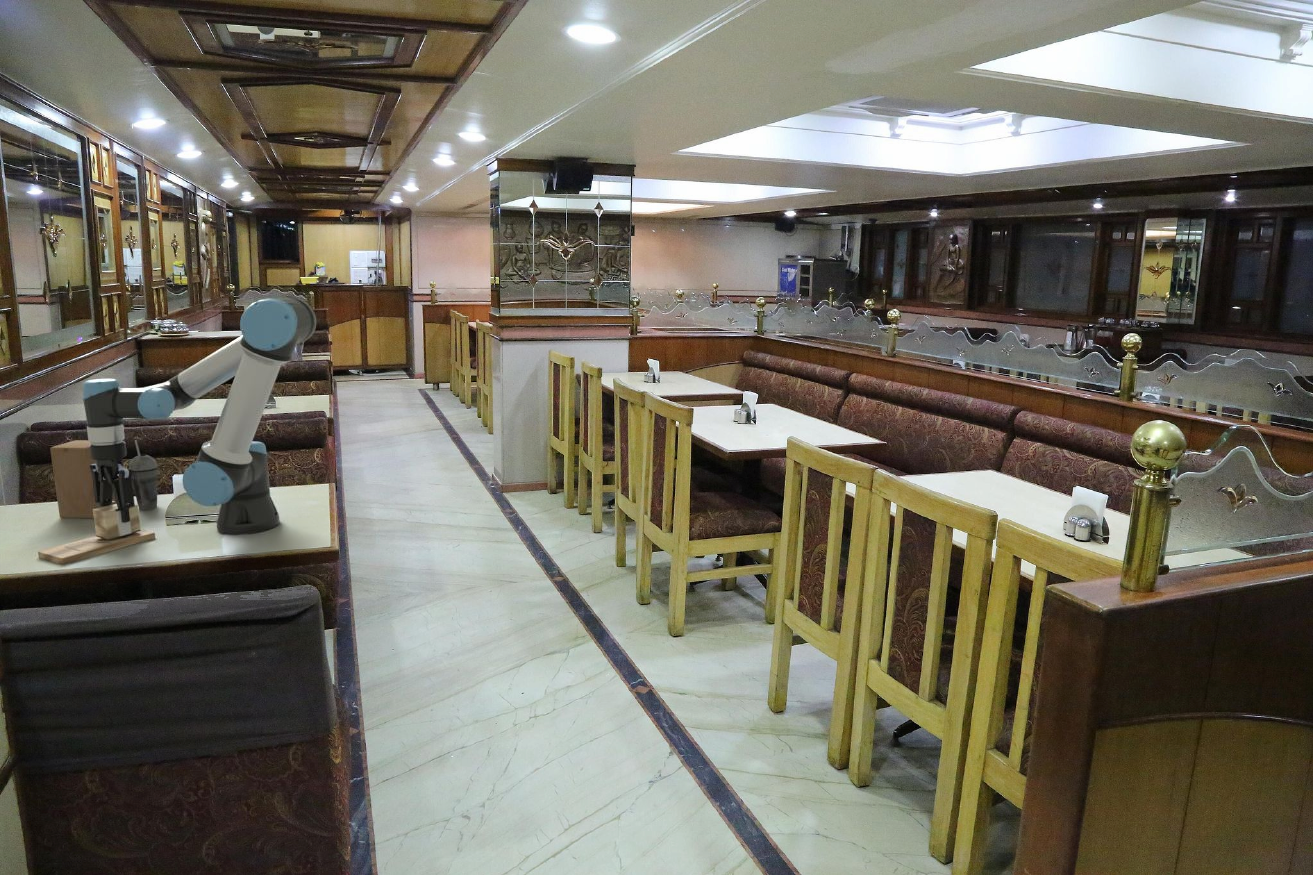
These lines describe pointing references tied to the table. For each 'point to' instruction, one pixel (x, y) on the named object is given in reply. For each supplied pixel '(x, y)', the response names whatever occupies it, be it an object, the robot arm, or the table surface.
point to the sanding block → (113, 521)
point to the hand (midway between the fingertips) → (118, 532)
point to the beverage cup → (144, 480)
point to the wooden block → (74, 479)
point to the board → (92, 547)
